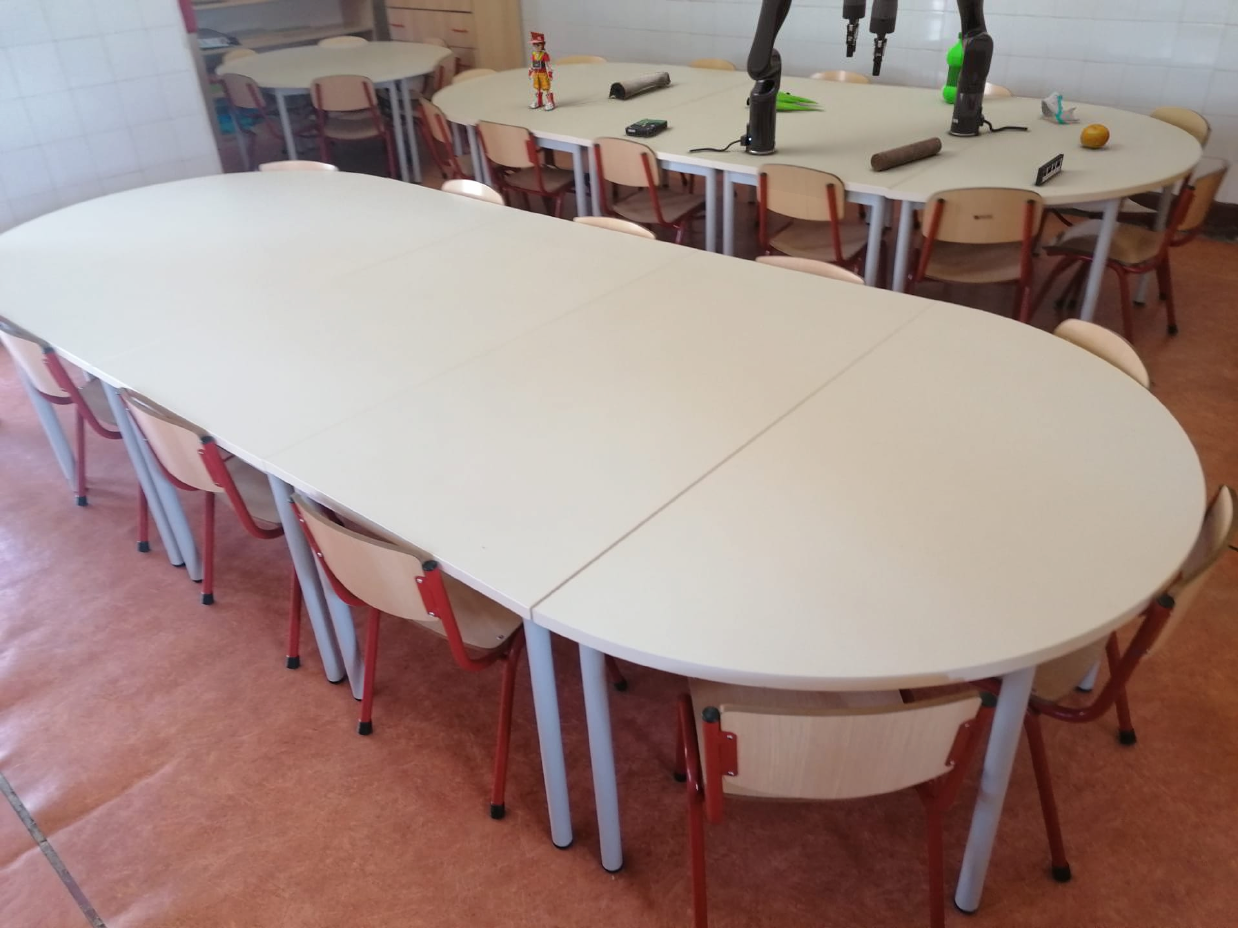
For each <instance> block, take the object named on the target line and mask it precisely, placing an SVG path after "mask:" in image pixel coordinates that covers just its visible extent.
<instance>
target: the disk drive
mask: <svg viewBox="0 0 1238 928" xmlns="http://www.w3.org/2000/svg"><path fill="white" fill-rule="evenodd" d="M667 128H668V120H663V119H652V118H651V119H650V118H643V119H640V120H639V121H636V122H634V123H633V124H630V125H628V126H626V127H625V129H624V130H625V135H629V136H637V137H651V136H653V135H655V134H657V133H659V132H661V131H663V130H665V129H667Z"/></svg>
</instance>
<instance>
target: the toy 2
mask: <svg viewBox="0 0 1238 928" xmlns="http://www.w3.org/2000/svg"><path fill="white" fill-rule="evenodd" d="M745 103H746V106H748V107H749V105H750V96H749V97H747V99H746V102H745ZM799 103H803V104H804V103H805V104H818V105H819V104H820V103H819V102H817V101H815V100H812V99H809V98H805V97H801V96H797V95H793V94H791V93H790V92H785V93H784V91H783V92H782V91H779V92H778V95H777V110H780V111H781V110H782V111H783V110H784V111H821V108H815V107H810V106H804V105H800V104H799Z"/></svg>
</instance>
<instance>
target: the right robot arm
mask: <svg viewBox="0 0 1238 928" xmlns="http://www.w3.org/2000/svg"><path fill="white" fill-rule="evenodd" d="M955 1H956V5H957V10H958V13H959V17H960V32H961V35H962V51H963V53H964V57H963V63H962V69H961V72H960V73H959V77H958V83H957V90H956V96H955V103H953V110H952V115H951V124H950V129H949V134H950V135H952V136H956V137H973V136H979V131H980V127H984V125H985V124H986V125H987V126H988V129H989V131H990V132H992V133H997V132H1001V131H1005V130H1017V131H1028V129H1029V127H1026V126H1014V125H1007V126H1002V127H999V128H993V124H992V123H991V121H989V120H987V119H985V118H986V117H985V115H984V113H983V109H984V107H983V102H984V96H985V90H986V83H987V79H988V76H989V74H990V71H991V70H990V69H991V64H992V60H993V56H994V55H993V54H994V49H995V48H994V47H995V44H994V39H993V37H992V36H991V35H990V34H989V32H988V29H987V25H986V20H985V19H986V18H985V14H984V12H985V11H984V4H985V3H984V2H985V0H955ZM842 2H843V3H842V16H841V17H842V19H844V20H848V23H847V24H846V28H845V31H846V33H845V44H846V51H845V53H846V54H845V55H846V56H845V57H846V58H853V57H854V53H855V52H857V51H856V50H857V40H858V37H859V33H860V20H861V19H864V18H865V17H866V13H867V11H866V10H867V0H842Z"/></svg>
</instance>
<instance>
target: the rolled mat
mask: <svg viewBox="0 0 1238 928" xmlns="http://www.w3.org/2000/svg"><path fill="white" fill-rule="evenodd" d="M671 83H672V81H671V77H670V74H669V72H668V71H658V72H654V73H649V74H645V75H640V76H637V77H633V78H628V79H623V80H620V81H616V82H613V83H612V84H611V85H610V89H609V95H608V97H609V98H611V97H616V99H620V100H622V101H623V100H626V99H627V98H629V97H630V96H632V95H635V94H636V93H638V92H640V91H643V90H644V89H647V88H650V87H655V86H658V87H659V86H661V87H665V86H669V85H670V84H671Z"/></svg>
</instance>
